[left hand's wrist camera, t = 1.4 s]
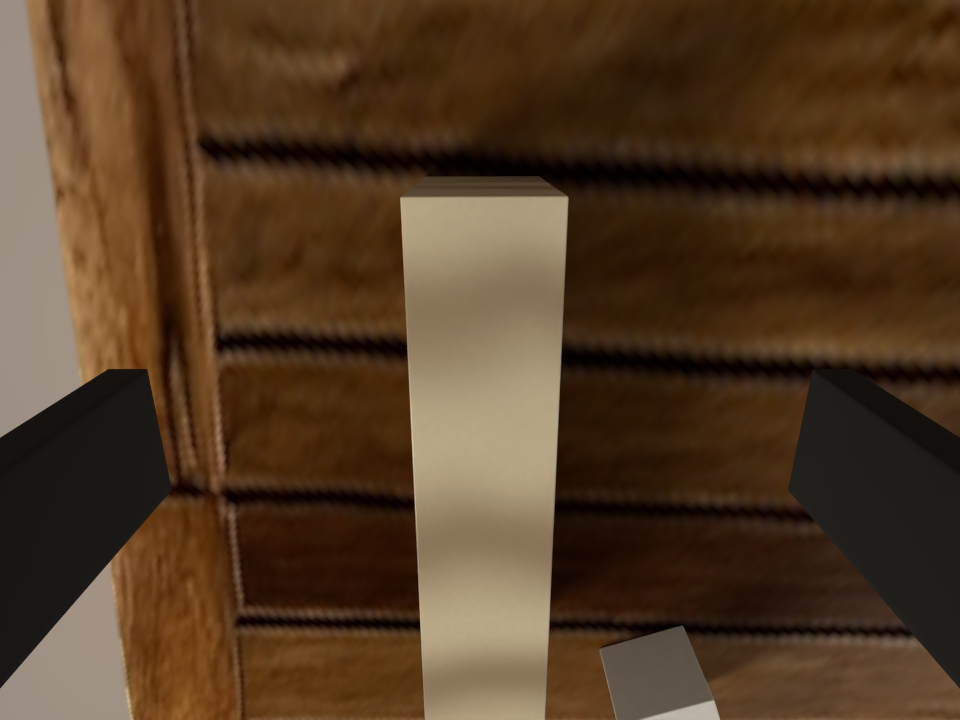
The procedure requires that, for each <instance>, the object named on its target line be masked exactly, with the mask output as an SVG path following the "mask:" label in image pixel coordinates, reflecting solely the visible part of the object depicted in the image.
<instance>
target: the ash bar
mask: <svg viewBox="0 0 960 720" xmlns="http://www.w3.org/2000/svg"><path fill="white" fill-rule="evenodd" d="M568 200H569V198H568V196H567V195H565V194H564V193H562V192H561V191H559V190H558V189H556V188H555V187H554V186H552V185H551V184H549V183H548V182H546V181H545V180H543V179H542V178H540V177H539V176H497V177H424V178H423V179H422V180H421V181H419V182H418V183H417V184H416V185H415V186H414V187H412V188H411V189H410V190H409V191H408V192H406V193H405V194H404V195H403V196H402V197H401V198H400V201H401V222H402V244H403V265H404V286H405V307H406V329H407V350H408V371H409V392H410V413H411V435H412V456H413V477H414V498H415V520H416V541H417V562H418V583H419V604H420V626H421V647H422V668H423V689H424V711H425V720H545V704H546V682H547V661H548V639H549V617H550V595H551V573H552V551H553V529H554V507H555V485H556V463H557V441H558V419H559V397H560V375H561V353H562V331H563V309H564V287H565V265H566V243H567V221H568Z"/></svg>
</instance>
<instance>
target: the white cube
mask: <svg viewBox="0 0 960 720" xmlns="http://www.w3.org/2000/svg"><path fill="white" fill-rule="evenodd" d="M600 653H601V658H602V662H603V666H604V670H605V674H606V679H607V683H608V687H609V691H610V695H611V699H612V704H613V708H614V712H615V716H616V720H720V717H719V714H718V711H717V707H716V704H715V701H714V698H713V696H712V694H711V691H710V689H709V686H708V684H707V682H706V679H705V677H704V675H703V672H702V670H701V667H700V665H699V663H698V660H697V658H696V656H695V653H694V651H693V648H692V646H691V644H690V641H689V639H688V637H687V634H686V632H685V629H684V627H683V626H678V627H675V628H671V629H668V630H664V631H660V632H657V633H653V634H650V635H646V636H643V637H639V638H636V639H632V640H629V641H625V642H622V643H618V644H614V645H611V646H607V647H604V648H600Z"/></svg>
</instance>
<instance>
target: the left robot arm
mask: <svg viewBox="0 0 960 720" xmlns="http://www.w3.org/2000/svg"><path fill="white" fill-rule="evenodd" d="M171 490H172V489H171V484H170V479H169V474H168V469H167V465H166V460H165V455H164V450H163V445H162V440H161V435H160V430H159V425H158V420H157V415H156V410H155V405H154V400H153V396H152V391H151V386H150V381H149V376H148V371H147V369H108V370H106V371H105V372H103V373H102V374H100V375H98V376H97V377H95V378H94V379H92V380H91V381H89V382H87V383H86V384H84V385H83V386H81V387H79V388H78V389H76V390H75V391H73V392H72V393H70V394H68V395H67V396H65V397H64V398H62V399H61V400H59V401H57V402H56V403H54V404H53V405H51V406H50V407H48V408H46V409H45V410H43V411H42V412H40V413H39V414H37V415H36V416H34V417H32V418H31V419H29V420H27V421H26V422H24V423H23V424H21V425H20V426H18V427H16V428H15V429H13V430H12V431H10V432H9V433H7V434H5V435H4V436H2V437H1V438H0V688H1V687H2V686H3V685H4V683H5V682H6V681H7V680H8V679H9V678H10V676H11V675H12V674H13V673H14V672H15V671H16V669H17V668H18V667H19V666H20V665H21V664H22V663H23V661H24V660H25V659H26V658H27V657H28V656H29V654H30V653H31V652H32V651H33V650H34V649H35V648H36V646H37V645H38V644H39V643H40V642H41V641H42V639H43V638H44V637H45V636H46V635H47V634H48V632H49V631H50V630H51V629H52V628H53V627H54V625H55V624H56V623H57V622H58V621H59V620H60V619H61V617H62V616H63V615H64V614H65V613H66V612H67V610H68V609H69V608H70V607H71V606H72V605H73V604H74V602H75V601H76V600H77V599H78V598H79V597H80V595H81V594H82V593H83V592H84V591H85V590H86V589H87V587H88V586H89V585H90V584H91V583H92V582H93V580H94V579H95V578H96V577H97V576H98V575H99V573H100V572H101V571H102V570H103V569H104V568H105V567H106V565H107V564H108V563H109V562H110V561H111V560H112V558H113V557H114V556H115V555H116V554H117V553H118V552H119V550H120V549H121V548H122V547H123V546H124V545H125V543H126V542H127V541H128V540H129V539H130V538H131V536H132V535H133V534H134V533H135V532H136V531H137V530H138V528H139V527H140V526H141V525H142V524H143V523H144V521H145V520H146V519H147V518H148V517H149V516H150V514H151V513H152V512H153V511H154V510H155V509H156V508H157V506H158V505H159V504H160V503H161V502H162V501H163V499H164V498H165V497H166V496H167V495H168V494H169V493H170V491H171ZM788 490H789V491H790V493H791V494H792V495H793V496H794V497H795V498H796V499H797V501H798V502H799V503H800V504H801V505H802V506H803V508H804V509H805V510H806V511H807V512H808V513H809V514H810V516H811V517H812V518H813V519H814V520H815V521H816V523H817V524H818V525H819V526H820V527H821V528H822V530H823V531H824V532H825V533H826V534H827V535H828V536H829V538H830V539H831V540H832V541H833V542H834V543H835V545H836V546H837V547H838V548H839V549H840V550H841V552H842V553H843V554H844V555H845V556H846V557H847V558H848V560H849V561H850V562H851V563H852V564H853V565H854V567H855V568H856V569H857V570H858V571H859V572H860V573H861V575H862V576H863V577H864V578H865V579H866V580H867V582H868V583H869V584H870V585H871V586H872V587H873V589H874V590H875V591H876V592H877V593H878V594H879V595H880V597H881V598H882V599H883V600H884V601H885V602H886V604H887V605H888V606H889V607H890V608H891V609H892V611H893V612H894V613H895V614H896V615H897V616H898V617H899V619H900V620H901V621H902V622H903V623H904V624H905V626H906V627H907V628H908V629H909V630H910V631H911V632H912V634H913V635H914V636H915V637H916V638H917V639H918V641H919V642H920V643H921V644H922V645H923V646H924V648H925V649H926V650H927V651H928V652H929V653H930V654H931V656H932V657H933V658H934V659H935V660H936V661H937V663H938V664H939V665H940V666H941V667H942V668H943V669H944V671H945V672H946V673H947V674H948V675H949V676H950V678H951V679H952V680H953V681H954V682H955V683H956V685H957V686H958V687H959V688H960V438H959V437H958V436H956V435H955V434H953V433H951V432H950V431H948V430H947V429H945V428H944V427H942V426H940V425H939V424H937V423H936V422H934V421H933V420H931V419H929V418H928V417H926V416H925V415H923V414H921V413H920V412H918V411H917V410H915V409H914V408H912V407H910V406H909V405H907V404H906V403H904V402H903V401H901V400H899V399H898V398H896V397H895V396H893V395H892V394H890V393H888V392H887V391H885V390H884V389H882V388H881V387H879V386H877V385H876V384H874V383H873V382H871V381H869V380H868V379H866V378H865V377H863V376H862V375H860V374H858V373H857V372H855V371H854V370H852V369H813V371H812V376H811V381H810V386H809V391H808V396H807V400H806V405H805V410H804V415H803V420H802V425H801V430H800V435H799V440H798V445H797V450H796V455H795V460H794V464H793V469H792V474H791V479H790V484H789V489H788Z"/></svg>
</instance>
